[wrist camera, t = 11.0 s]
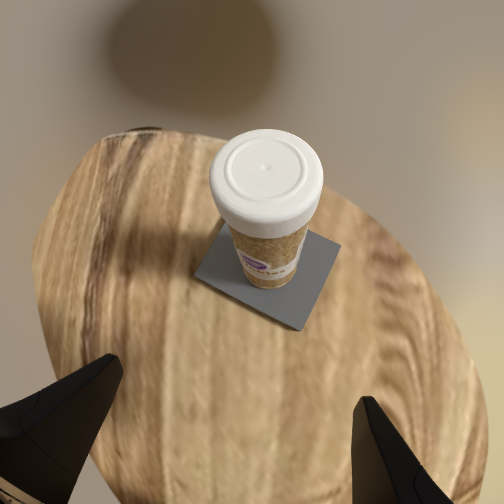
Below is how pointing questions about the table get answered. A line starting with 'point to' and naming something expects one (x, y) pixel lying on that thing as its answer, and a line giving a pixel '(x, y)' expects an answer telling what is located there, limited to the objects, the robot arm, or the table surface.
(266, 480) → the table surface
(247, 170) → the sprinkles bottle
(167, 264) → the table surface
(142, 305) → the table surface
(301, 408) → the table surface
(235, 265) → the slate tile
